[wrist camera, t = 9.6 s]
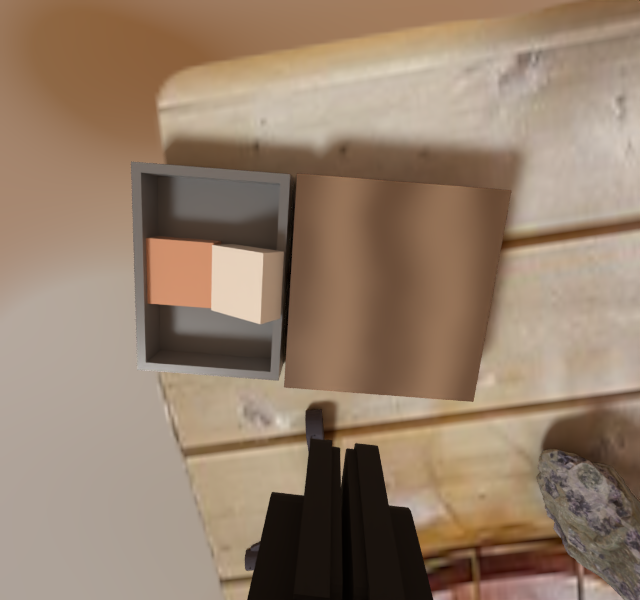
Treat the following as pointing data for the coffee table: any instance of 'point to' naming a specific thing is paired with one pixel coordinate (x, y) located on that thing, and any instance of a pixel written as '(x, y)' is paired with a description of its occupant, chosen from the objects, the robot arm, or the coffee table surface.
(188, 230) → the box
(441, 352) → the tan square panel
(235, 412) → the coffee table surface
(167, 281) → the terracotta tile
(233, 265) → the cream tile
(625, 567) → the mineral rock
